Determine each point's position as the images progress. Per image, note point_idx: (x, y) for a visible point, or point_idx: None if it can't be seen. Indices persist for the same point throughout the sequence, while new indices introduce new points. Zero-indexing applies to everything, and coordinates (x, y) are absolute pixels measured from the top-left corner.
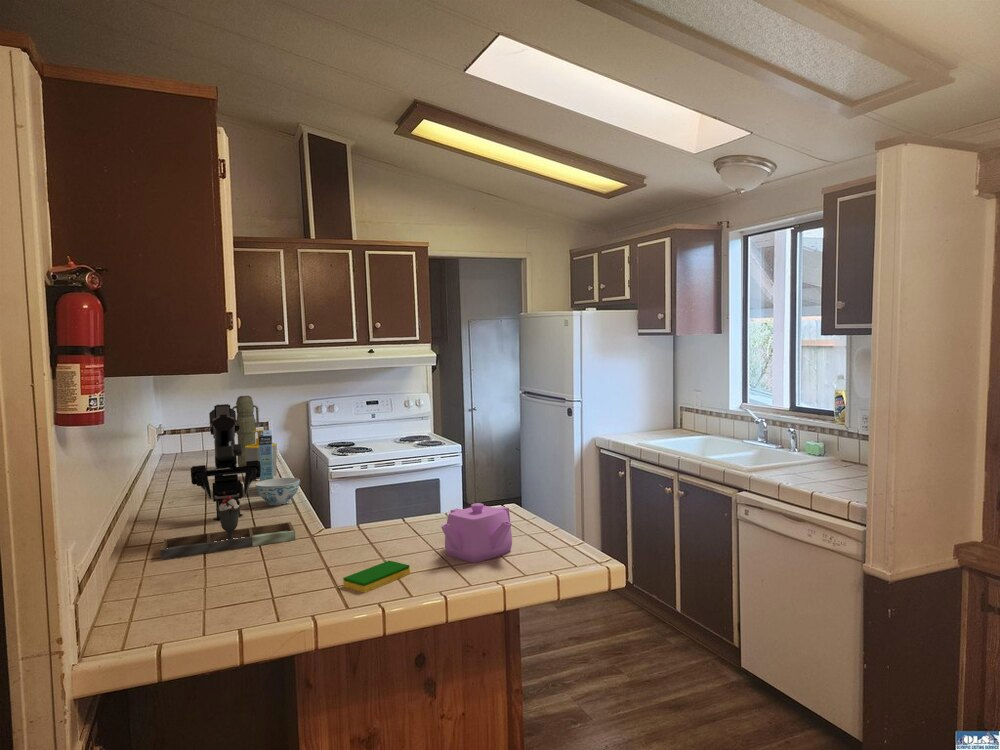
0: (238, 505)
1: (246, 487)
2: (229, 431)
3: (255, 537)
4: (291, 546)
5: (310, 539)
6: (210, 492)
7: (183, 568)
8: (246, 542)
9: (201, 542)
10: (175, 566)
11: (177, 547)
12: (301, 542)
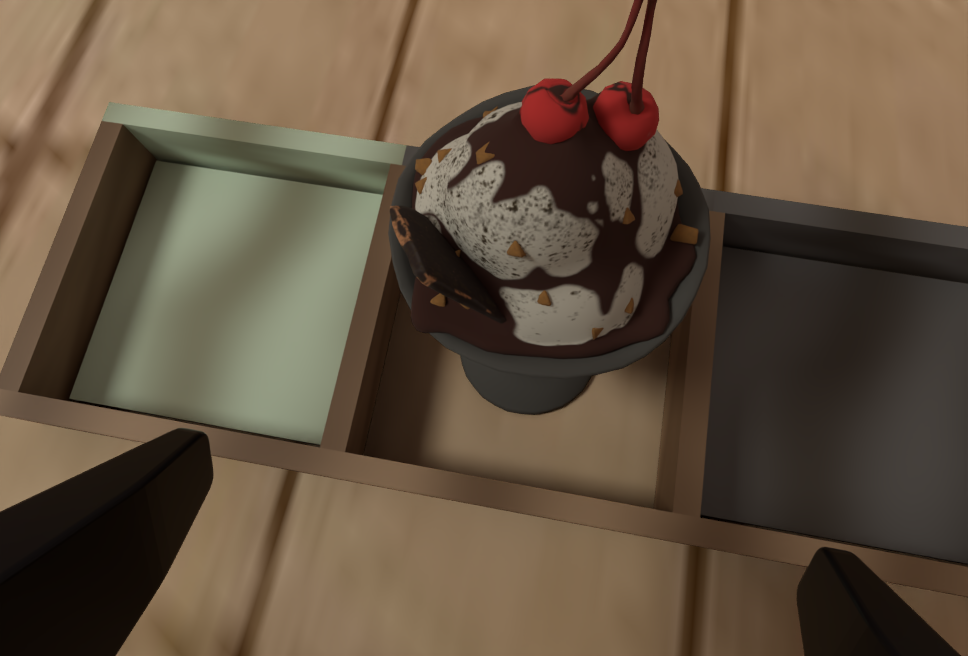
0: (433, 164)
1: (95, 473)
2: None
3: (384, 143)
4: (227, 29)
5: (71, 95)
6: (865, 610)
7: (851, 10)
8: None
9: (730, 517)
10: (898, 73)
11: (939, 234)
12: (144, 69)
